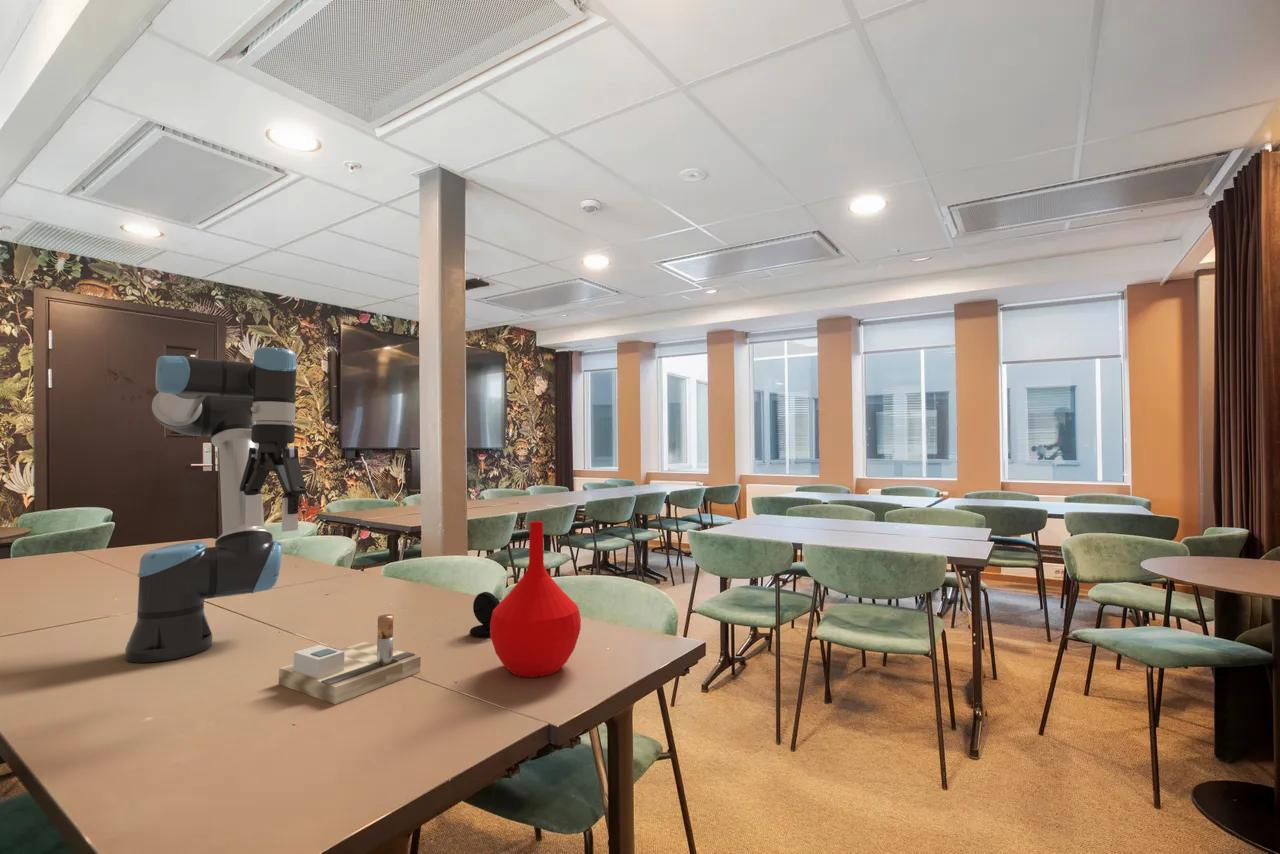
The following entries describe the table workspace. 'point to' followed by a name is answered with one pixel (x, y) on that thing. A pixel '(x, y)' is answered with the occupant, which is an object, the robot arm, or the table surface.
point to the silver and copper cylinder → (385, 640)
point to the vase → (535, 619)
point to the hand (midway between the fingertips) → (270, 528)
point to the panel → (352, 674)
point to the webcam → (483, 613)
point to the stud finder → (318, 661)
